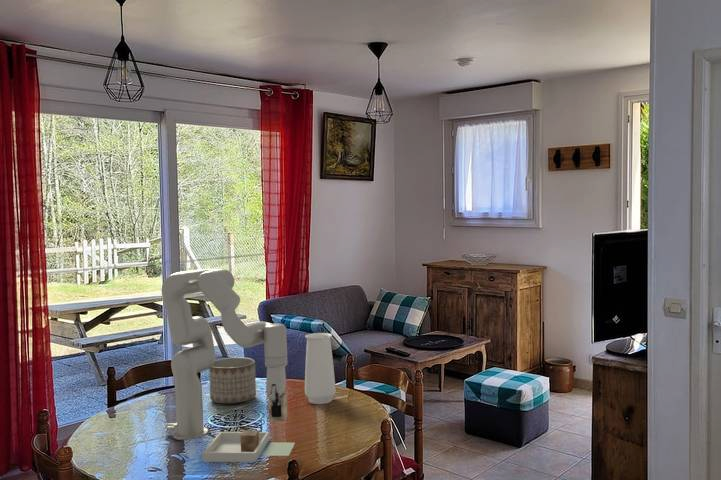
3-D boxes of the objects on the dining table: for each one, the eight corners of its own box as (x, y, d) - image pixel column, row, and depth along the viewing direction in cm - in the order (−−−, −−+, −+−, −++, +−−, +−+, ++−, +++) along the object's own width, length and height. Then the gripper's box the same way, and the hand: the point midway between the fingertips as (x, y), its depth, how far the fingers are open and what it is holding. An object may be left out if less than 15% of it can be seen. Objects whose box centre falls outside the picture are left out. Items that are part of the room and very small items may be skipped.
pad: (261, 457, 216) (261, 455, 216) (269, 444, 228) (269, 442, 227) (288, 457, 215) (288, 455, 215) (295, 444, 227) (295, 442, 227)
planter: (206, 397, 286) (204, 360, 285) (249, 391, 294) (248, 355, 294) (216, 409, 269) (214, 370, 268) (261, 402, 277) (260, 364, 276)
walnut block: (241, 453, 218) (240, 435, 218) (244, 447, 223) (244, 430, 223) (255, 453, 218) (255, 435, 217) (259, 447, 223) (258, 430, 222)
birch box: (269, 421, 218) (268, 397, 218) (272, 416, 223) (271, 393, 223) (284, 421, 218) (283, 397, 217) (287, 416, 223) (286, 392, 222)
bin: (202, 463, 212) (202, 452, 212) (220, 441, 231) (220, 431, 231) (255, 463, 210) (255, 452, 210) (269, 441, 230) (268, 431, 230)
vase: (319, 394, 287) (317, 331, 285) (342, 399, 278) (340, 334, 277) (298, 401, 277) (296, 336, 275) (321, 407, 268) (319, 339, 267)
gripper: (270, 355, 228) (272, 406, 229) (259, 367, 211) (261, 422, 212) (291, 354, 228) (293, 406, 229) (282, 366, 211) (284, 422, 212)
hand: (278, 413), depth 220 cm, fingers closed on birch box, 5 cm apart
